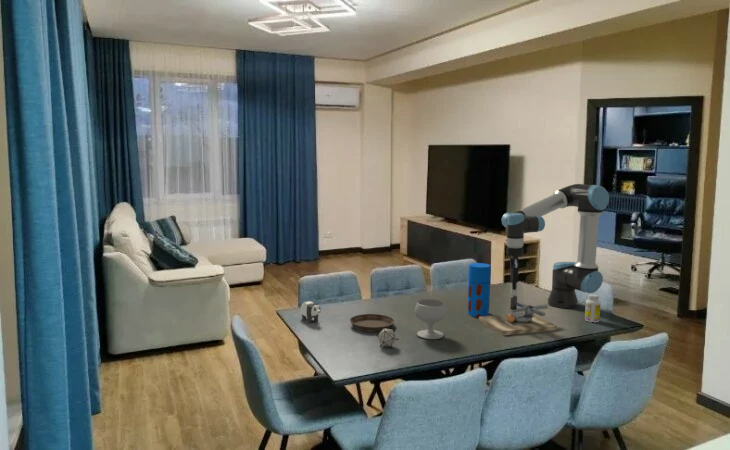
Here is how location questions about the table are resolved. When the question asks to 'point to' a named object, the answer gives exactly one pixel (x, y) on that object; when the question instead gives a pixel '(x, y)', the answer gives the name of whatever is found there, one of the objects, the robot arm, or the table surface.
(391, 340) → the game die
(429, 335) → the chalice
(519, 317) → the grey cross
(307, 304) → the giant panda
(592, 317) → the supplement bottle
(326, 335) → the table surface
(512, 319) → the ball
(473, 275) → the thermos
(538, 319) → the stand base
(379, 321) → the plant saucer
